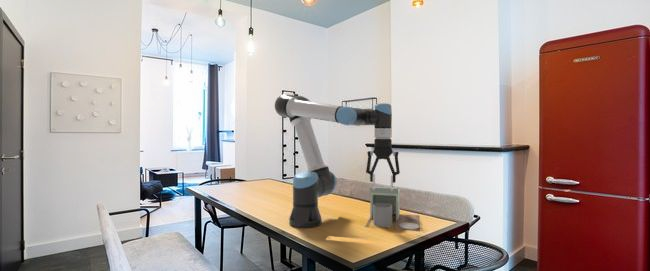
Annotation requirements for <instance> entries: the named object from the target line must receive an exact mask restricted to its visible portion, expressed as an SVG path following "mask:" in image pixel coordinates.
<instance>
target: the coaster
mask: <svg viewBox="0 0 650 271" xmlns="http://www.w3.org/2000/svg"><path fill="white" fill-rule="evenodd" d="M399 226H400V227H401V228H404V229H418V228H419V225H418V224H415V223H400V224H399Z"/></svg>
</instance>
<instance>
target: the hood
mask: <svg viewBox="0 0 650 271" xmlns="http://www.w3.org/2000/svg"><path fill="white" fill-rule="evenodd" d="M369 188H370V190H369V191H370V194H369V196H370V198H369V200H370V208H369V210H370V211H369V212H370V214H369V215H370V216H369V218H370V219H373V205H374V204H378V203H385V204H390V205H392V214H396V221H398V220H399V214H401V213H400V211H401V210H400V205H401V202H400V198H401V196H400V193H401V190H400V189H399V187H398V188H397V187H393V191H391V187H384V186H383V187H382V186H381V187H380V186H375V189H374V190H373V186H370V187H369Z"/></svg>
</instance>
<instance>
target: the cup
mask: <svg viewBox="0 0 650 271" xmlns="http://www.w3.org/2000/svg"><path fill="white" fill-rule="evenodd" d="M372 223H373V224H372V225H373V226H374V227H377V228H389V227H392V226H393V222H392V205H390V204H385V203H378V204H374V205H373V220H372Z"/></svg>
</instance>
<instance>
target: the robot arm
mask: <svg viewBox="0 0 650 271" xmlns="http://www.w3.org/2000/svg"><path fill="white" fill-rule="evenodd" d="M274 110H275V112H276V113H277V114H278V115H279V116H280V117H282V118H289V122H290V124H291V125H293V126H294V129H295V131H296V135H297V138H298V142H299V144H300V148H301V150H302V154H303V157H304V160H305V164H306V167H307V171H304V172H303V171H302V172H299V173H296V174H294V176H293V177H292V209H291V212H290V215H289V218H288V221H289V225H290V226H292V227H294V228H295V227H296V228H300V229H301V228H304V229H307V228H314V227H319V226H320V225H322V223H323V222H322V220H323V219H322V215H321V212H320V209H319V202H318V201H319V198H321V197H326V196H328V195H330V194H332V193H333V192H334V191H335V190H336V188H337V185H338V180H337V177H336V175H335V174H334V173H333V172H332V171H330V169H329V166H328V165H326V164H325V162H324V160H323V156H322V153H321V150H320V148H319V143H318V142H317V138H316V135H315V132H314V129H313V126H312V121H311V120H312V119H314V120H319V121H326V122H332V123H338V124H340V125H343V126H374V143H373V144H374V147H373V150H369V151H367V162H366V170H365V173H366V174H369V181H370V182H371V183H372V187H373V190H374V189H375V187H376V174H375V173H374V172H375V170H376V167H377V166H378V162H379V160H386V161H387V164H388V166H389V168H390V171H391V172H390V173H392V174H390V188H391V191H393V188H394V184H395V183H396V176H398V175H400V173H401V172H400V164H399V151H394V150H393V149H392V145H393V144H392V139H391V138H392V129H393V128H392V125H393V124H392V121H393V120H392V117H393V115H392V114H393V113H392V105H391V104H390V103H381V102H380V103H376V104H374V107H373V108H358V107H351V106H344V105H338V104H337V105H336V104H330V103H322V102H316V101H315V102H314V101H311V100H310V99H309V98H307V97H305V96H303V95H293V94H282V95H280V96H278V97H277V98H276V100H275V102H274ZM373 154H374V155H375V160H374V163H373V165H372V167H371V162H372V156H373ZM391 155H393V156H394V164H395V168H394V165H393V163H392V161H391V160H392V159H391V158H390V157H391ZM370 169H371V170H370ZM395 169H396V170H395Z"/></svg>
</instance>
